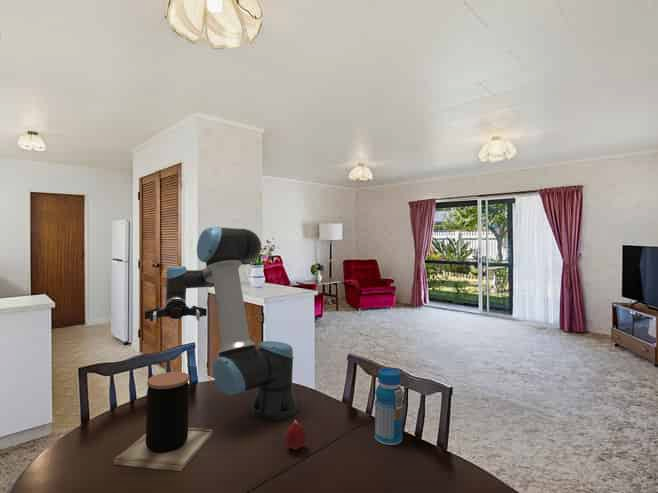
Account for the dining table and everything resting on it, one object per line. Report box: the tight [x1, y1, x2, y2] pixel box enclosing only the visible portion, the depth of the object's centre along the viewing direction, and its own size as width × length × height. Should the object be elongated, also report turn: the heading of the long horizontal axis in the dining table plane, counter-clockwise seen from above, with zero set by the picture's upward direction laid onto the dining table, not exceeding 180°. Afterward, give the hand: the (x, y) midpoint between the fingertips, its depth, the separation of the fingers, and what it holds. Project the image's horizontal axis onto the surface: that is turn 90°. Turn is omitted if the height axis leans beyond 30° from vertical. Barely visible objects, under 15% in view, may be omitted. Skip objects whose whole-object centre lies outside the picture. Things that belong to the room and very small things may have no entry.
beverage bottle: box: [374, 367, 405, 446], centre depth 107 cm, size 8×8×20 cm
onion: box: [284, 419, 307, 451], centre depth 100 cm, size 6×6×8 cm
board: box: [113, 426, 214, 472], centre depth 99 cm, size 18×18×2 cm
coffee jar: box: [145, 371, 190, 453], centre depth 99 cm, size 11×11×18 cm
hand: (176, 317), depth 120 cm, fingers open, 13 cm apart
